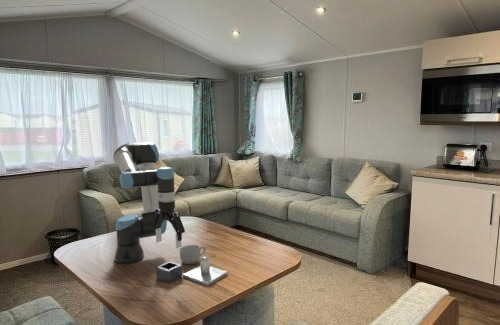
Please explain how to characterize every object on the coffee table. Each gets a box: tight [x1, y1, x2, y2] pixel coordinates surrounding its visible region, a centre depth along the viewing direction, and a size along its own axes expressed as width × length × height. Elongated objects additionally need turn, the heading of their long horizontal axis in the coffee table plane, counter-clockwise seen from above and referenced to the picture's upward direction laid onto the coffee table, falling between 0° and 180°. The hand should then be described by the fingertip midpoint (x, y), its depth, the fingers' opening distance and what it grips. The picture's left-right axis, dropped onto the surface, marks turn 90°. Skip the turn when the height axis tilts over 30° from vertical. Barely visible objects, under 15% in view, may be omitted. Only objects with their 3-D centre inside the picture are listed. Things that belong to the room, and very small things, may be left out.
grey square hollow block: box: [155, 260, 183, 285], centre depth 161 cm, size 8×8×6 cm
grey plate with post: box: [182, 255, 228, 287], centre depth 162 cm, size 16×14×10 cm
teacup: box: [178, 244, 207, 265], centre depth 179 cm, size 14×11×8 cm
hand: (168, 244), depth 159 cm, fingers open, 13 cm apart
